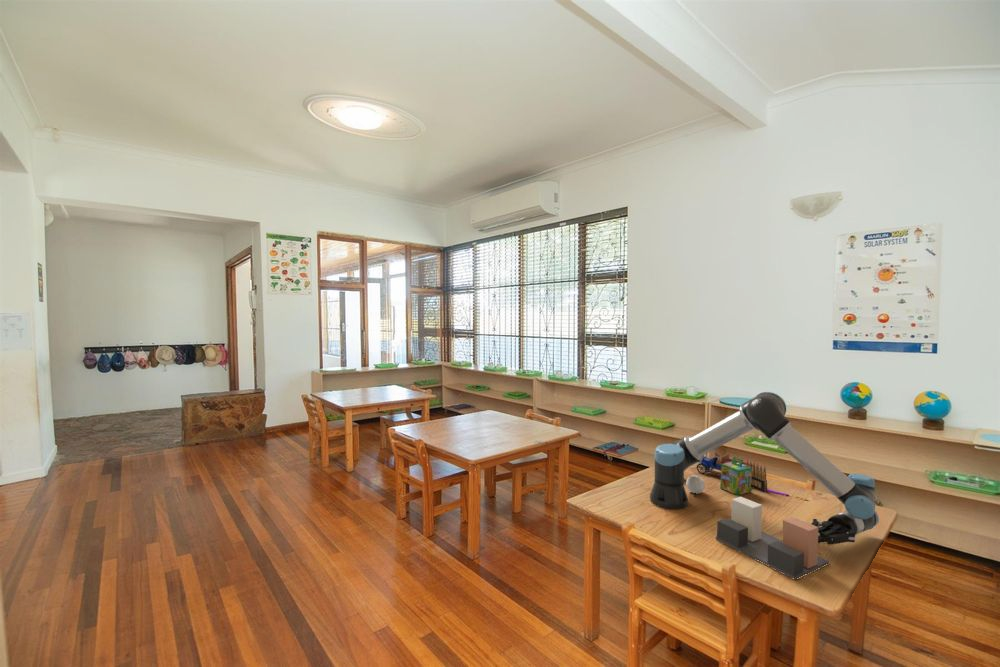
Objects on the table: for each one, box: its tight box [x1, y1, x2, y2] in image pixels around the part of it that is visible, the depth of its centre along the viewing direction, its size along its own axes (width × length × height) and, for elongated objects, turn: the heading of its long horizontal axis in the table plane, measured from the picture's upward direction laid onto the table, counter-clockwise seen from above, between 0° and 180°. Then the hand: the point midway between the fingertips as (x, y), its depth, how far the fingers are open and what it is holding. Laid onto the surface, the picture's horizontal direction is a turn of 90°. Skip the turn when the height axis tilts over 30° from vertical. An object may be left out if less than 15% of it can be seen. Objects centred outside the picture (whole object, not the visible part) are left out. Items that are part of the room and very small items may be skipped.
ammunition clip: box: [745, 459, 768, 493], centre depth 203 cm, size 11×2×12 cm, turn 21°
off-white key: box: [730, 496, 763, 542], centre depth 158 cm, size 5×8×12 cm, turn 27°
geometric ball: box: [685, 474, 706, 495], centre depth 198 cm, size 8×8×8 cm
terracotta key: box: [781, 516, 819, 568], centre depth 142 cm, size 5×8×12 cm, turn 27°
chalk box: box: [719, 456, 752, 496], centre depth 200 cm, size 9×9×15 cm
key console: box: [715, 517, 830, 580], centre depth 150 cm, size 18×27×7 cm
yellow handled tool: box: [766, 488, 807, 501], centre depth 195 cm, size 3×1×16 cm
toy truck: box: [696, 452, 753, 475], centre depth 216 cm, size 8×25×11 cm, turn 40°
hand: (805, 541), depth 143 cm, fingers closed
